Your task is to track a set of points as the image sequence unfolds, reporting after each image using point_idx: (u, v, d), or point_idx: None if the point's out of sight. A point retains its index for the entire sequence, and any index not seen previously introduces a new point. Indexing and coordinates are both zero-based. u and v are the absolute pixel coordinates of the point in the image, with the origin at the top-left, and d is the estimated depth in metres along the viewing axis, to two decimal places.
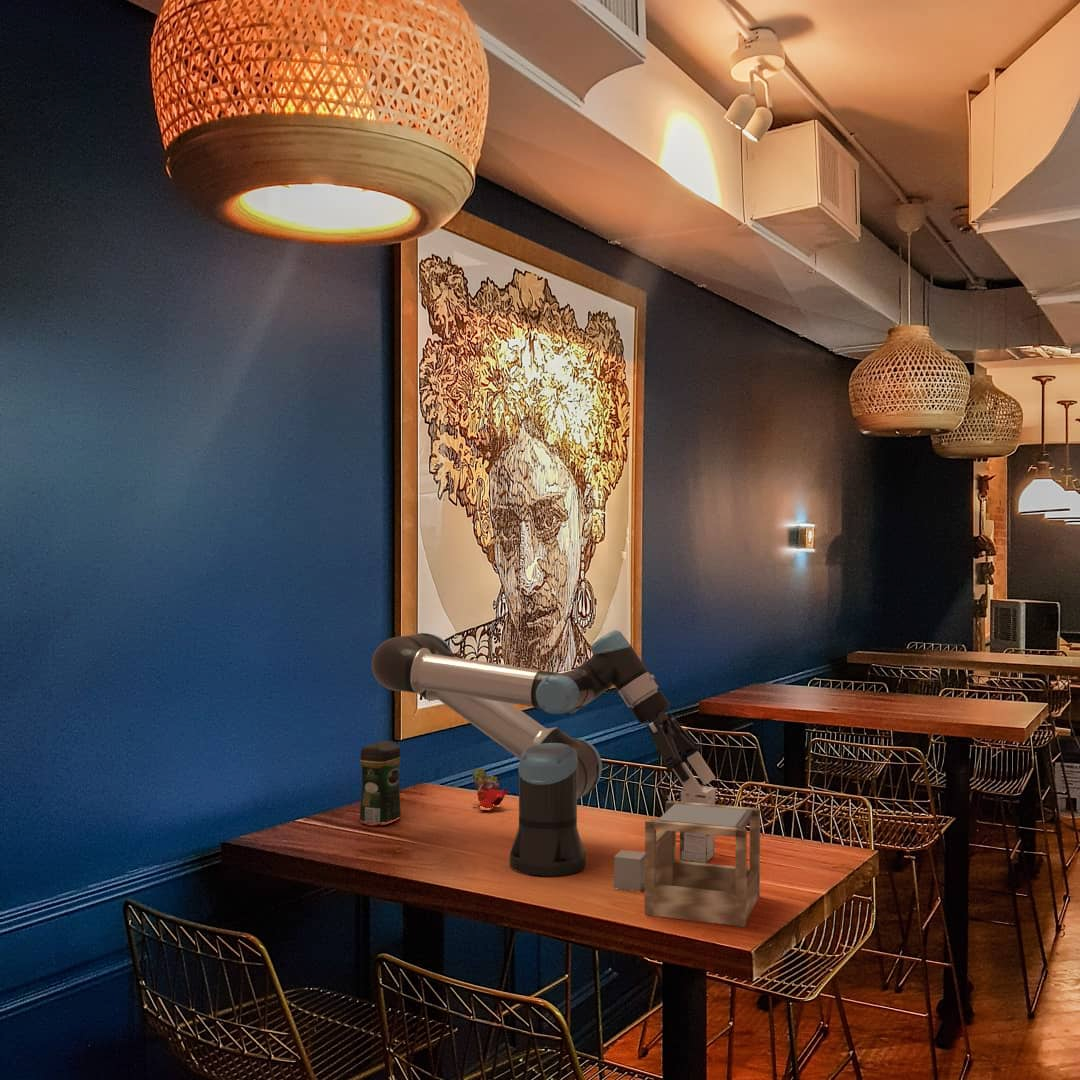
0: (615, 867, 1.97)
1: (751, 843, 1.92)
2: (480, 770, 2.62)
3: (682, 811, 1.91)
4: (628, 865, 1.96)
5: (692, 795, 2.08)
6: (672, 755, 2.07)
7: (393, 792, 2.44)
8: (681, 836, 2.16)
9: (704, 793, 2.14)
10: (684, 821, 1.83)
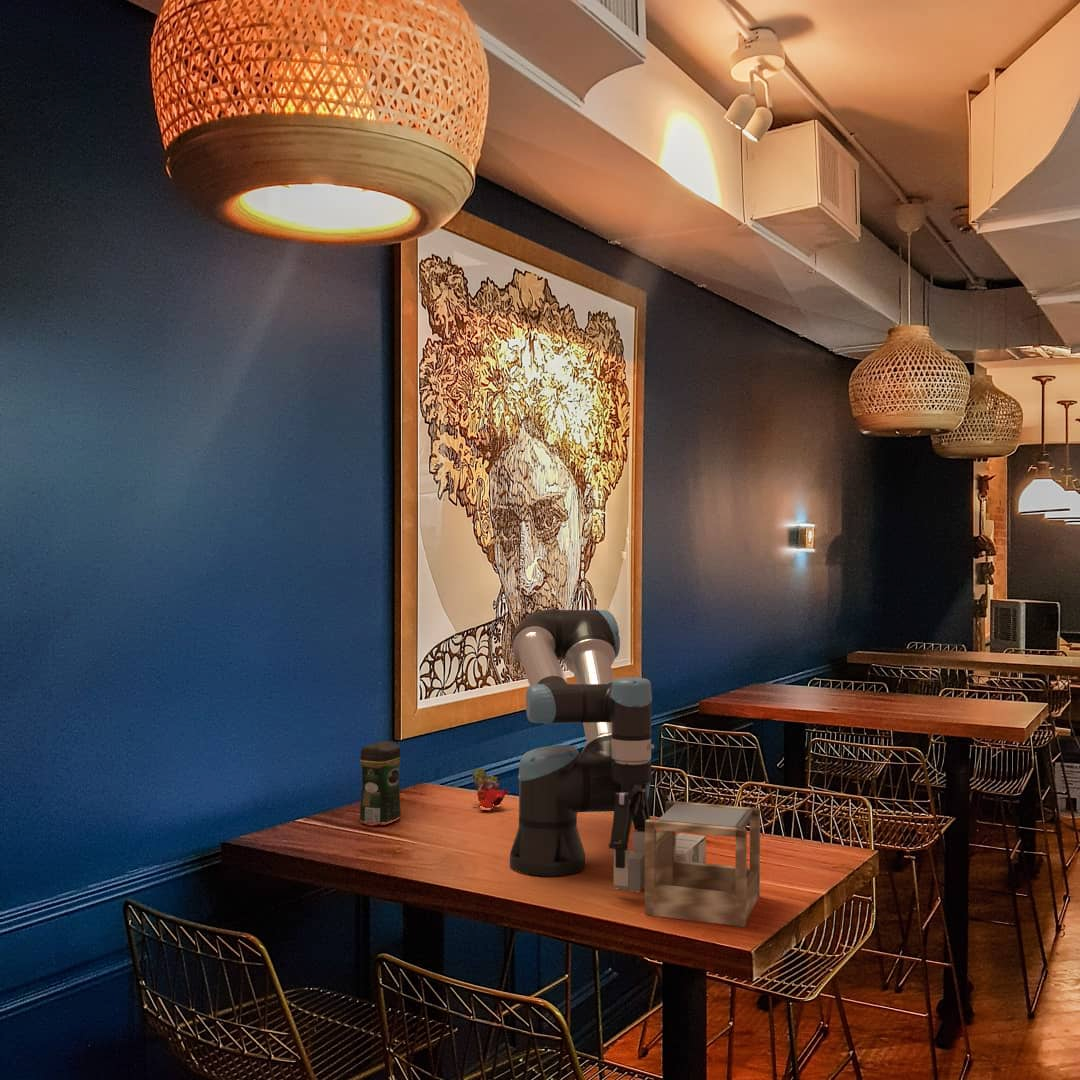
0: None
1: (751, 843, 1.92)
2: (480, 770, 2.62)
3: (682, 811, 1.91)
4: None
5: (616, 883, 1.92)
6: (622, 839, 1.89)
7: (393, 792, 2.44)
8: None
9: None
10: (684, 821, 1.83)
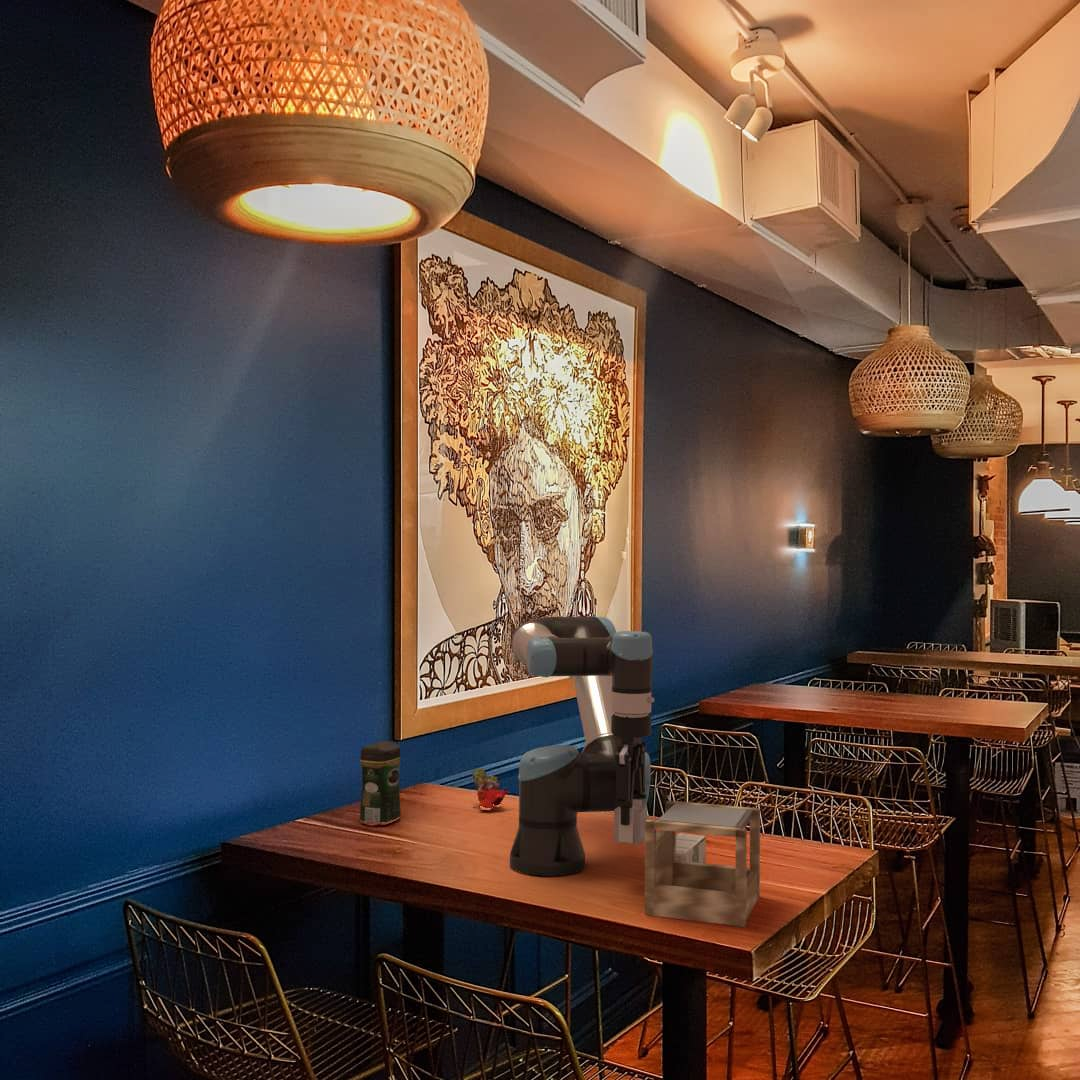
0: (615, 820, 1.98)
1: (751, 843, 1.92)
2: (480, 770, 2.62)
3: (682, 811, 1.91)
4: None
5: (621, 839, 1.97)
6: (627, 799, 1.93)
7: (393, 792, 2.44)
8: None
9: None
10: (684, 821, 1.83)
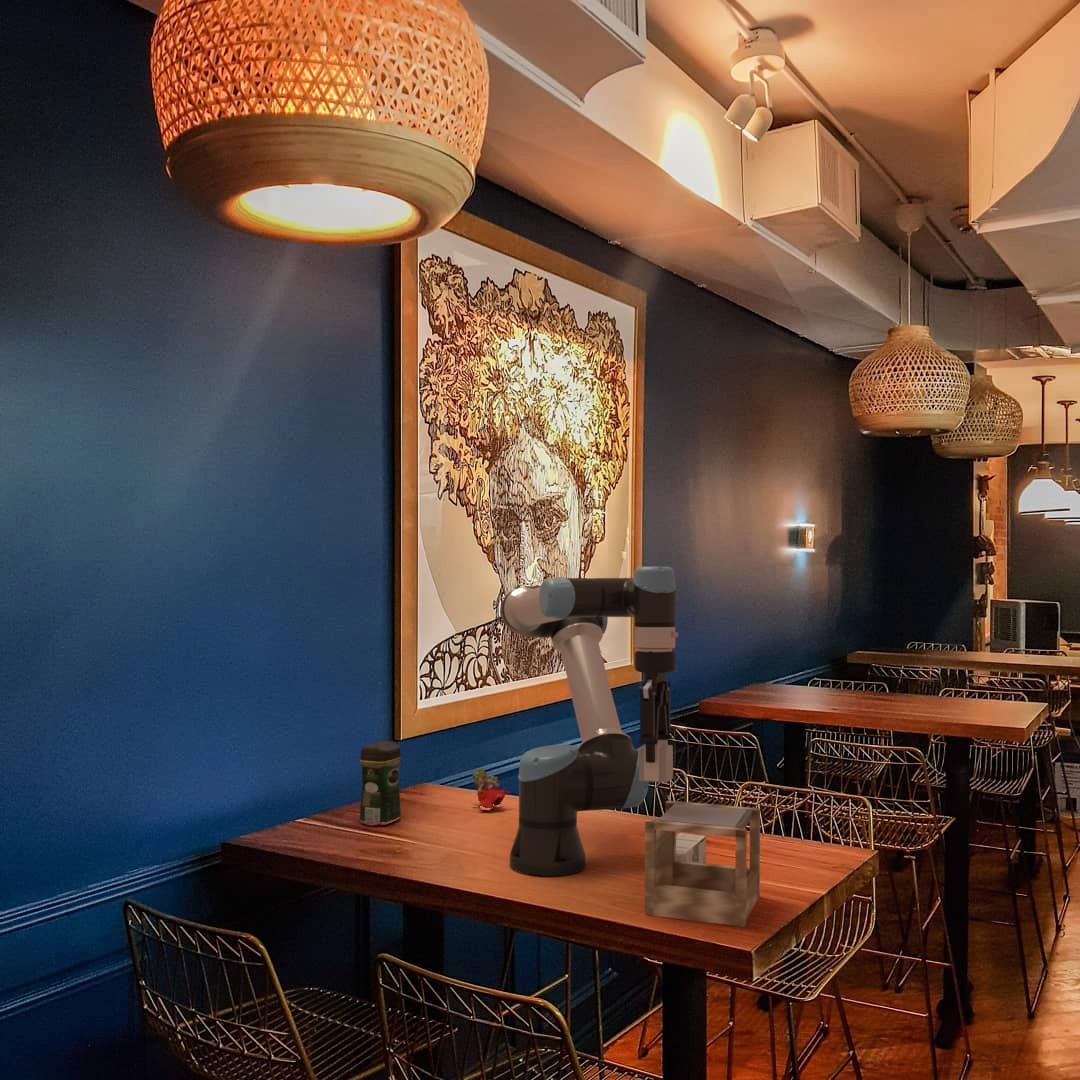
0: (640, 758, 1.93)
1: (751, 843, 1.92)
2: (480, 770, 2.62)
3: (682, 811, 1.91)
4: None
5: (646, 778, 1.91)
6: (651, 734, 1.88)
7: (393, 792, 2.44)
8: None
9: None
10: (684, 821, 1.83)
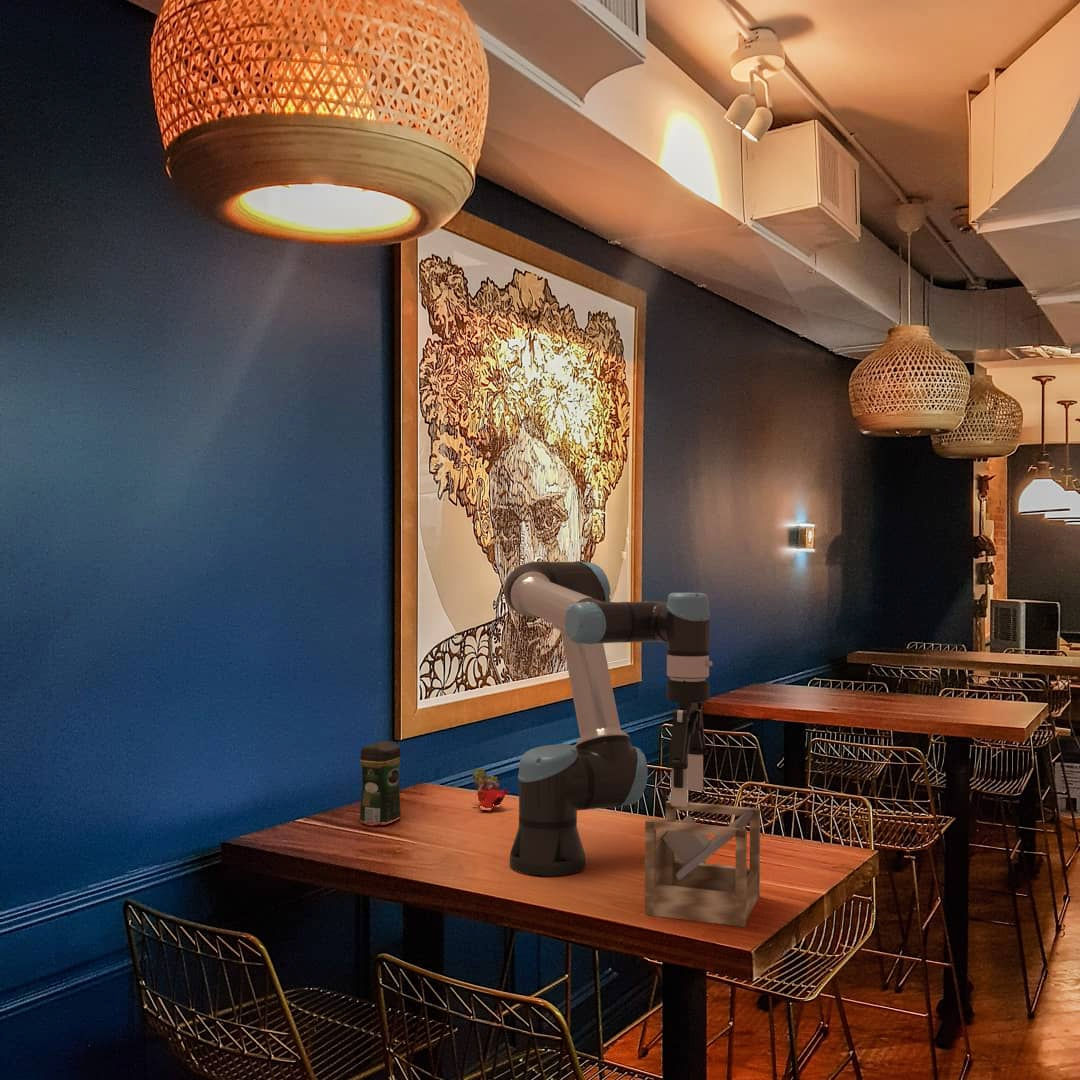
0: (670, 846, 1.88)
1: (751, 843, 1.92)
2: (480, 770, 2.62)
3: None
4: (678, 834, 1.87)
5: (674, 804, 1.83)
6: (681, 757, 1.80)
7: (393, 792, 2.44)
8: None
9: None
10: (695, 859, 1.82)
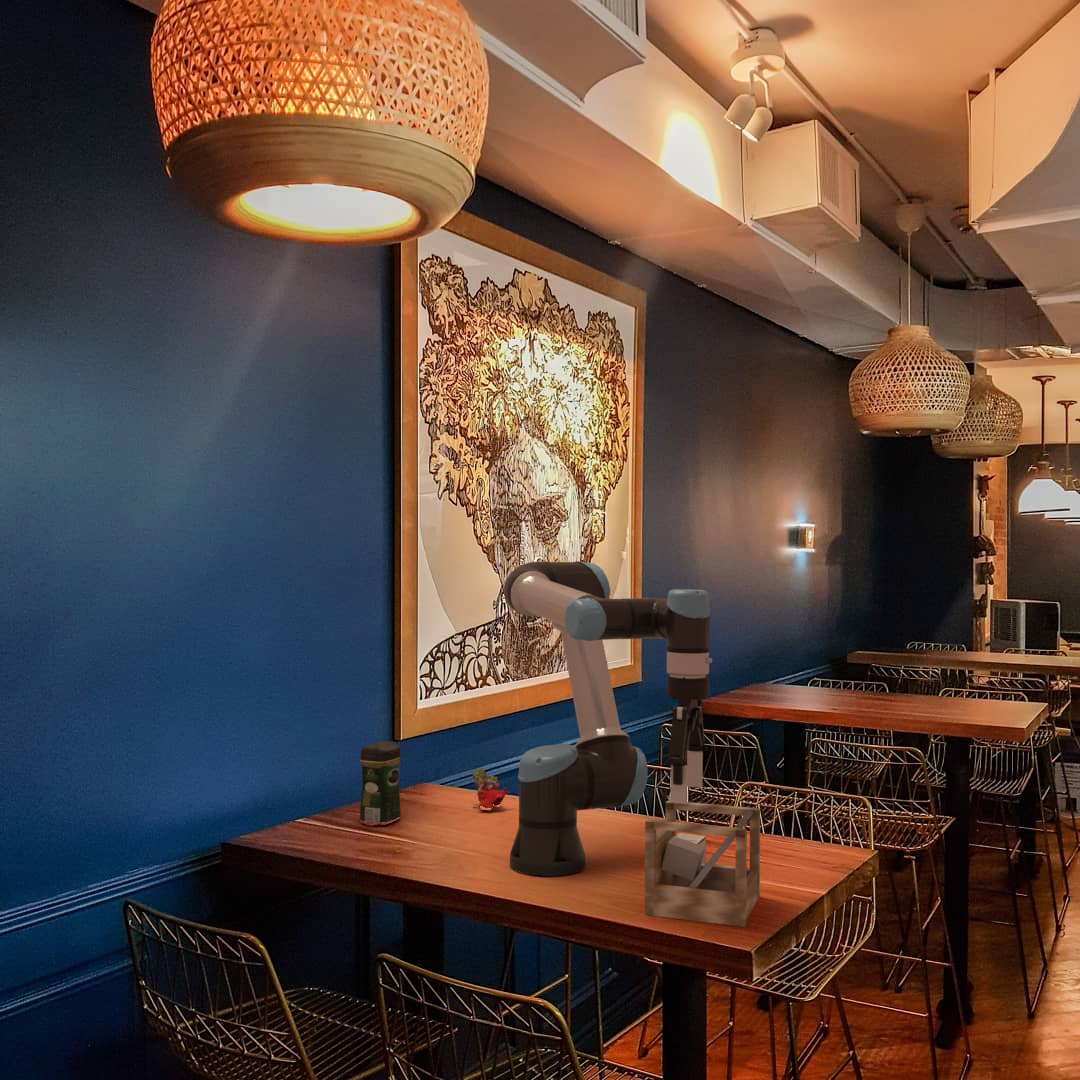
0: (671, 872, 1.87)
1: (751, 843, 1.92)
2: (480, 770, 2.62)
3: (705, 865, 1.89)
4: (671, 857, 1.88)
5: (673, 800, 1.83)
6: (681, 754, 1.80)
7: (393, 792, 2.44)
8: None
9: None
10: (703, 868, 1.82)
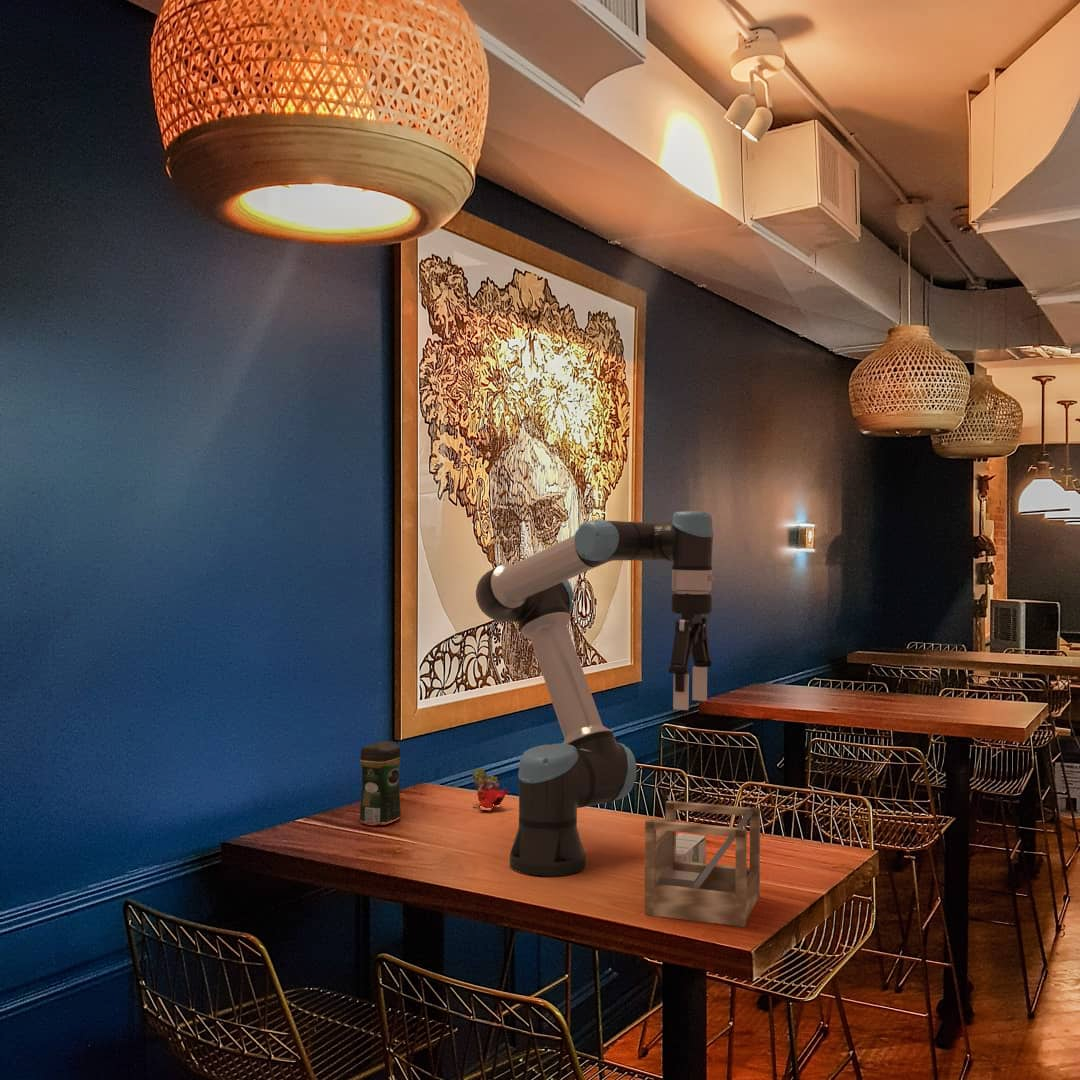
0: None
1: (751, 843, 1.92)
2: (480, 770, 2.62)
3: None
4: None
5: (675, 707, 1.95)
6: (682, 662, 1.92)
7: (393, 792, 2.44)
8: None
9: None
10: (705, 869, 1.82)
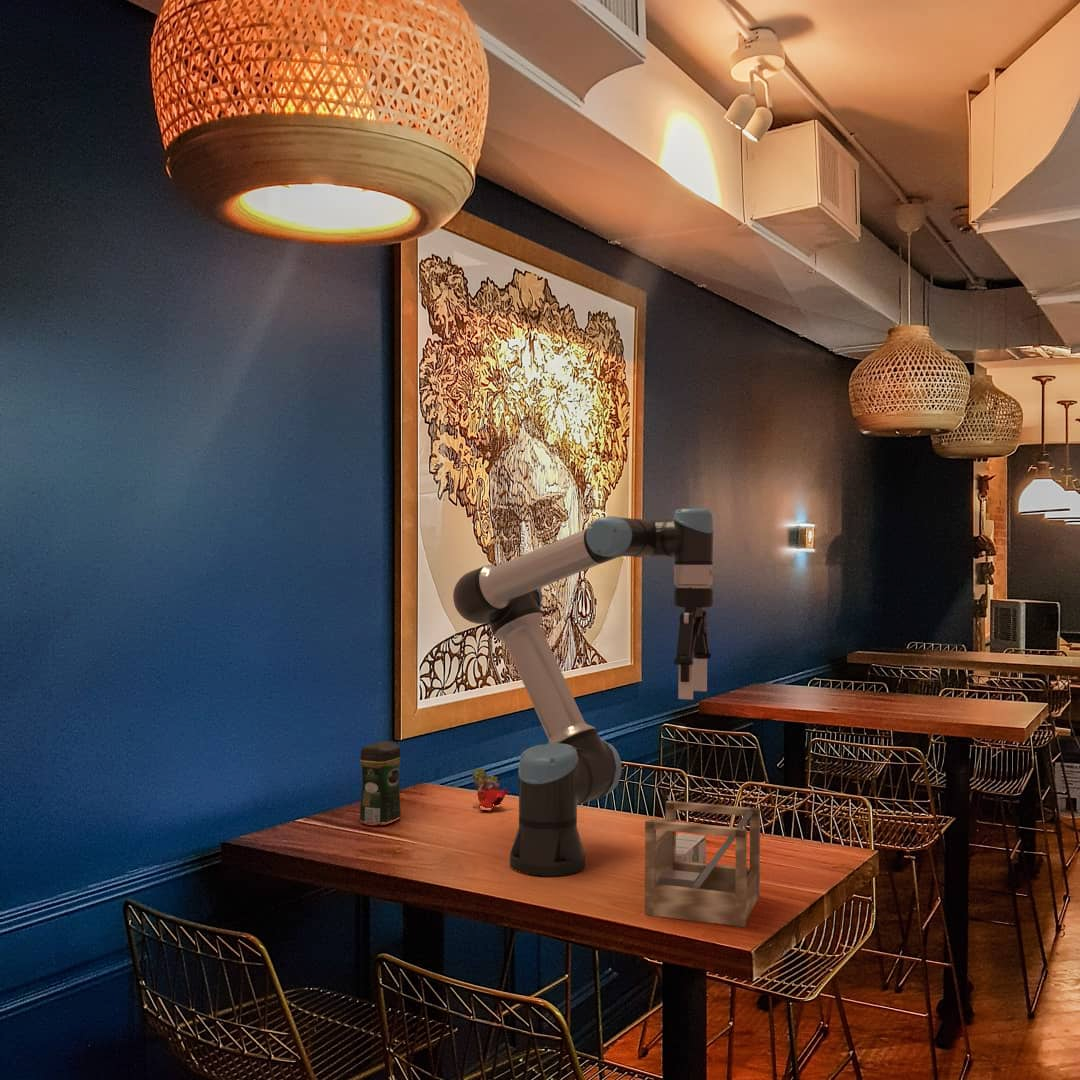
0: None
1: (751, 843, 1.92)
2: (480, 770, 2.62)
3: None
4: None
5: (681, 697, 2.02)
6: (687, 653, 1.99)
7: (393, 792, 2.44)
8: None
9: None
10: (705, 869, 1.82)
